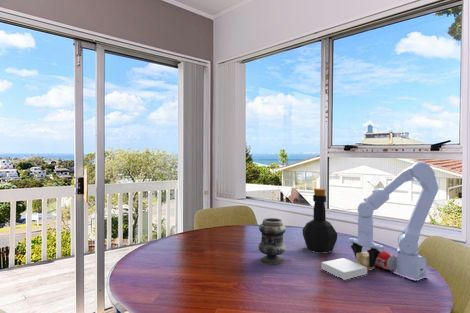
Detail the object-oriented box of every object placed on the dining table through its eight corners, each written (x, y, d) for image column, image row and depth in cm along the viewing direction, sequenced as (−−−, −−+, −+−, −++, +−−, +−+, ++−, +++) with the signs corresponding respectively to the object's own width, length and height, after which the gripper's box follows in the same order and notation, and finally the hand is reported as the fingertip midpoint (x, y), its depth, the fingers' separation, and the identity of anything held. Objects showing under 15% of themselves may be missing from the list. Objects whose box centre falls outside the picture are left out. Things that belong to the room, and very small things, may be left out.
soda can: (363, 247, 129) (385, 256, 118) (376, 244, 131) (399, 252, 120) (365, 264, 129) (386, 274, 118) (378, 260, 131) (400, 270, 120)
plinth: (367, 275, 116) (367, 267, 116) (344, 280, 111) (344, 272, 111) (343, 265, 127) (343, 257, 127) (321, 269, 121) (321, 262, 121)
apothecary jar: (285, 266, 125) (285, 223, 125) (256, 264, 127) (256, 221, 127) (286, 256, 137) (286, 217, 137) (259, 255, 139) (260, 216, 139)
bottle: (313, 256, 138) (313, 191, 138) (296, 246, 154) (297, 187, 154) (343, 253, 142) (343, 190, 142) (324, 243, 158) (324, 187, 158)
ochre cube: (374, 269, 122) (375, 254, 122) (366, 271, 119) (366, 256, 119) (364, 265, 126) (364, 251, 126) (356, 267, 124) (356, 253, 124)
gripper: (388, 233, 119) (388, 268, 119) (355, 226, 131) (355, 257, 131) (378, 236, 115) (377, 271, 115) (345, 228, 127) (345, 260, 127)
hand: (365, 264), depth 123 cm, fingers closed on ochre cube, 5 cm apart
